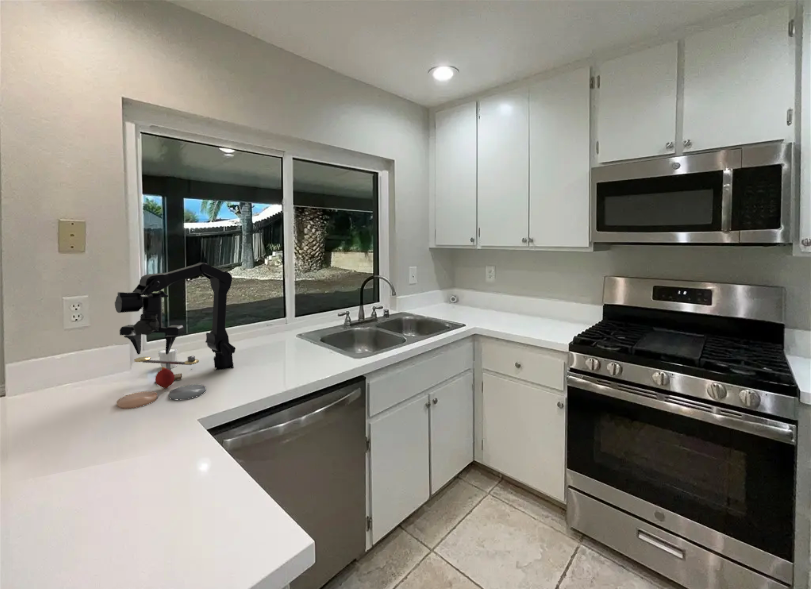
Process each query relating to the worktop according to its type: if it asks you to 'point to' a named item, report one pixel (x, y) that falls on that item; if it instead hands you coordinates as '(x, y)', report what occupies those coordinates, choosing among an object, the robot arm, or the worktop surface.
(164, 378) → the onion
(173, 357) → the white cylinder
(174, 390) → the slate dish
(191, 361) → the balance
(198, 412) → the worktop surface
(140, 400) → the terracotta dish
